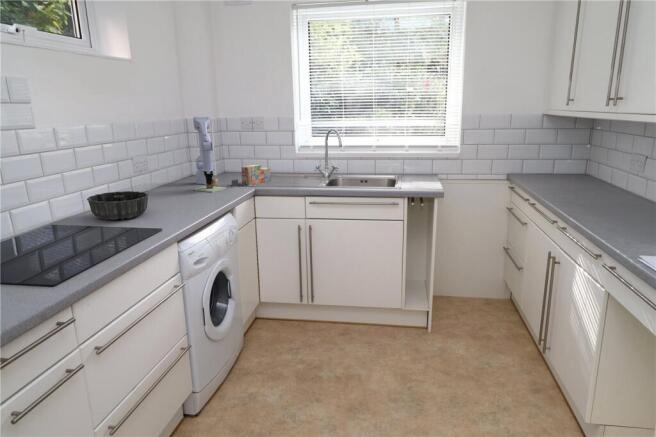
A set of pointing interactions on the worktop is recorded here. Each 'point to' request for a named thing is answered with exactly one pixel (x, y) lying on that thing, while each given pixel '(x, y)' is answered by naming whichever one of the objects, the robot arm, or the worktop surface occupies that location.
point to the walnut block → (209, 185)
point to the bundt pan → (118, 204)
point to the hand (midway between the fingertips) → (209, 183)
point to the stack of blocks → (255, 174)
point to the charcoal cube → (234, 182)
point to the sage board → (209, 189)
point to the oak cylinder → (215, 182)
